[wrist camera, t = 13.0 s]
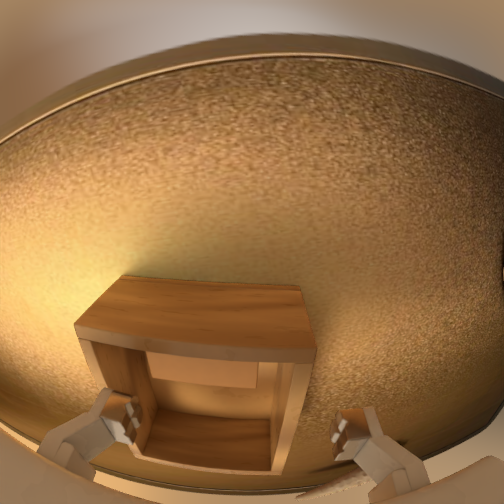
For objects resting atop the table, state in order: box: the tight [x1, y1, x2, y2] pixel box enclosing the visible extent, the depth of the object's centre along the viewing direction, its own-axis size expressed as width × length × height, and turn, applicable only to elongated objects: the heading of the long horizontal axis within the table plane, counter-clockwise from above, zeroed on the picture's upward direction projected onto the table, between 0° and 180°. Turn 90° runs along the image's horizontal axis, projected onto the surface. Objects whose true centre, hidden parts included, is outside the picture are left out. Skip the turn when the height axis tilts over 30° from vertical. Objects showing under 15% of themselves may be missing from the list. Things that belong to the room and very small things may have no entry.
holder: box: [74, 275, 317, 475], centre depth 15 cm, size 13×11×6 cm
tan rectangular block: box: [146, 351, 259, 388], centre depth 14 cm, size 4×6×3 cm, turn 88°
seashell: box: [296, 466, 373, 501], centre depth 20 cm, size 14×4×4 cm, turn 111°
